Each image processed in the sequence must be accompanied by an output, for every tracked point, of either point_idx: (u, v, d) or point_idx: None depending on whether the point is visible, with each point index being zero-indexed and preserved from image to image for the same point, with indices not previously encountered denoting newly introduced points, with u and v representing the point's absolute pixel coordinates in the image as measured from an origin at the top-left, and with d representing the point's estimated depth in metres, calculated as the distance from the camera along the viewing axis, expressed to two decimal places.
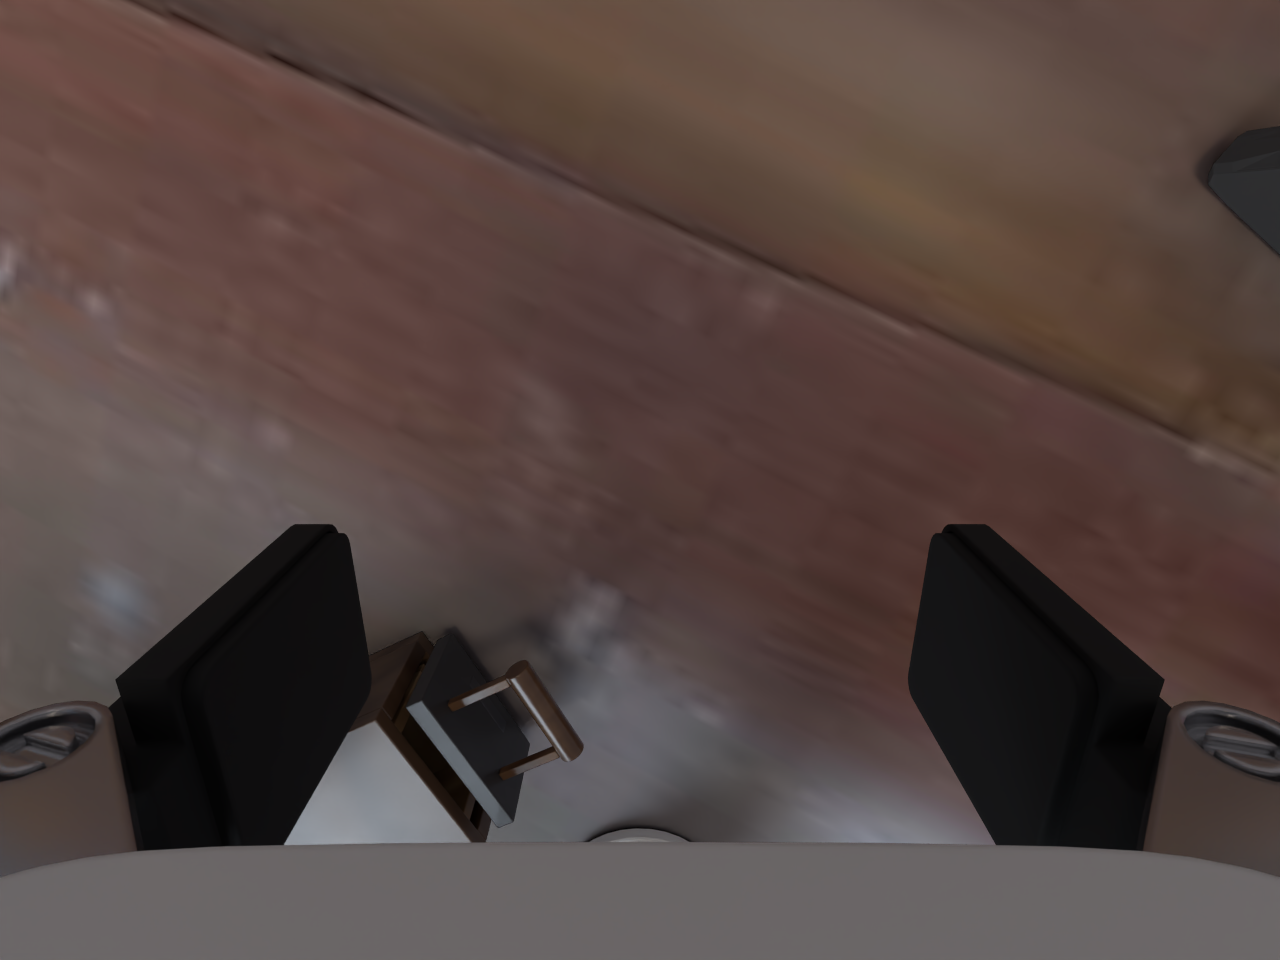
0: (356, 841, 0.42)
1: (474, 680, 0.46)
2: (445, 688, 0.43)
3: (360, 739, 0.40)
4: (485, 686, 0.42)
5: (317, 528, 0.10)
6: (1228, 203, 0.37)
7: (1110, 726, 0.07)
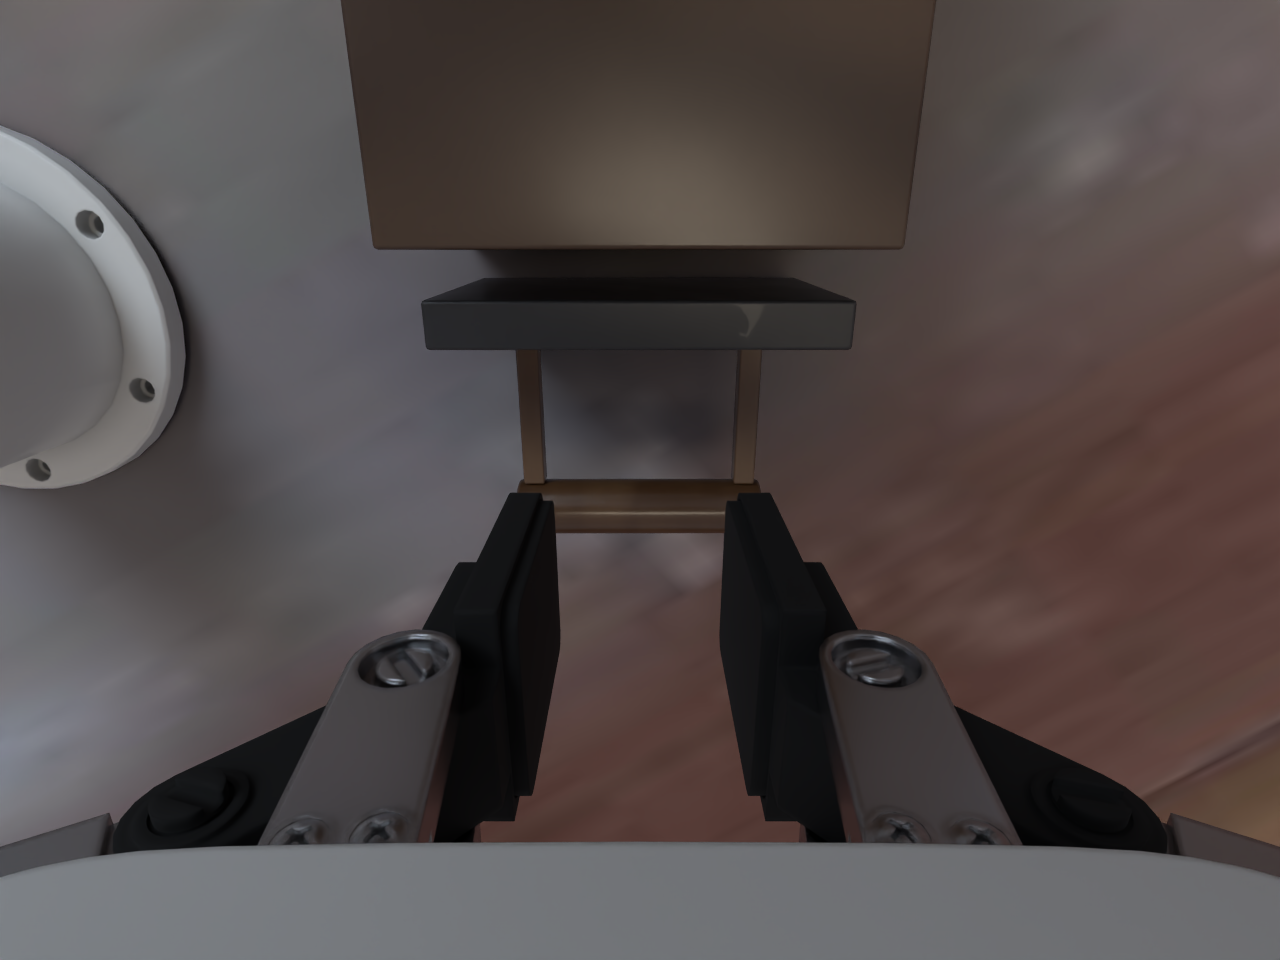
0: None
1: None
2: None
3: (878, 171, 0.14)
4: (755, 432, 0.20)
5: (534, 495, 0.11)
6: None
7: (790, 652, 0.08)
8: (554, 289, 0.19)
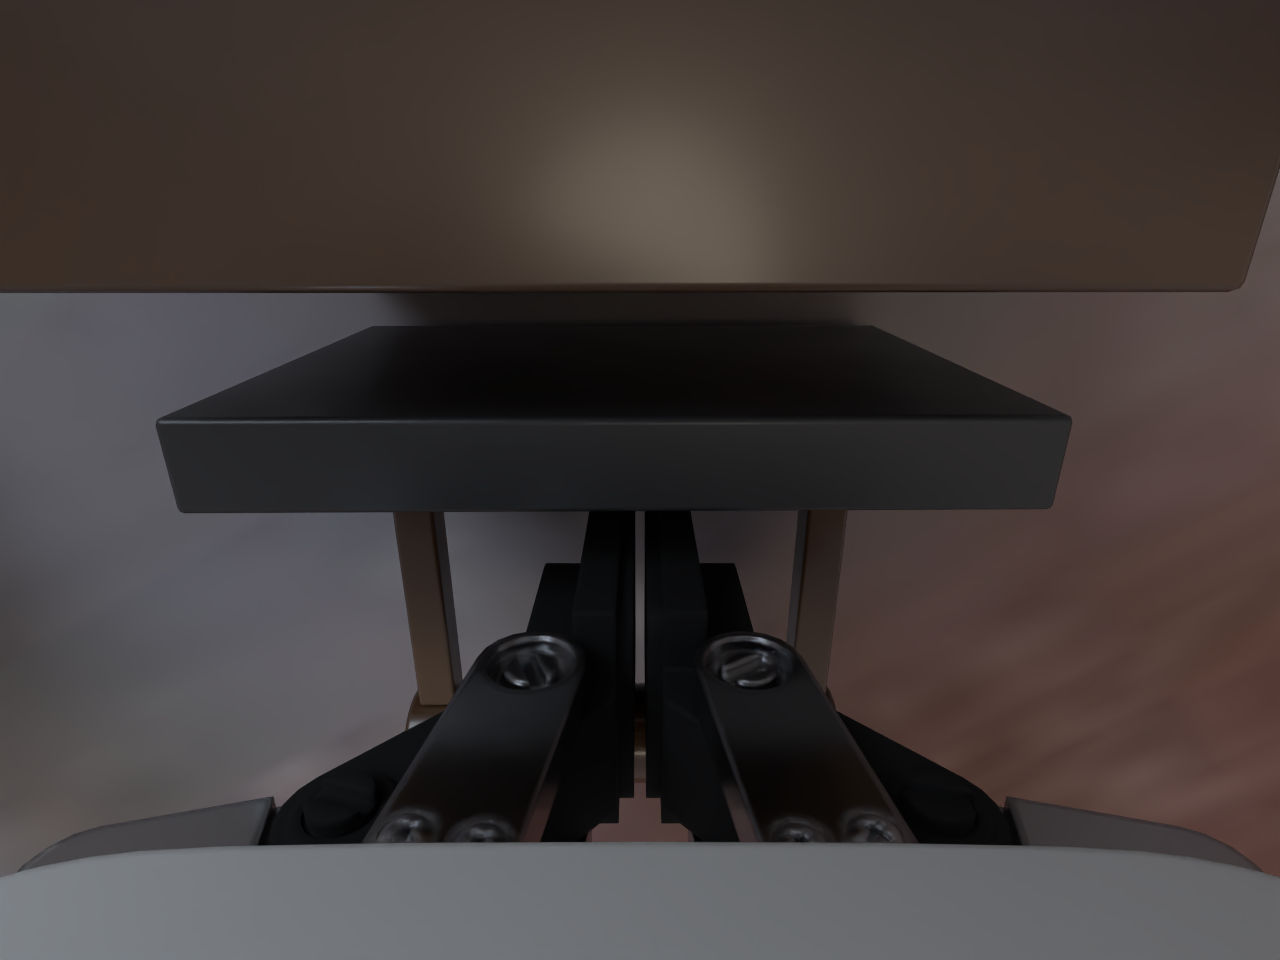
0: None
1: None
2: None
3: (1214, 101, 0.06)
4: (830, 617, 0.11)
5: None
6: None
7: (674, 654, 0.08)
8: (465, 366, 0.10)
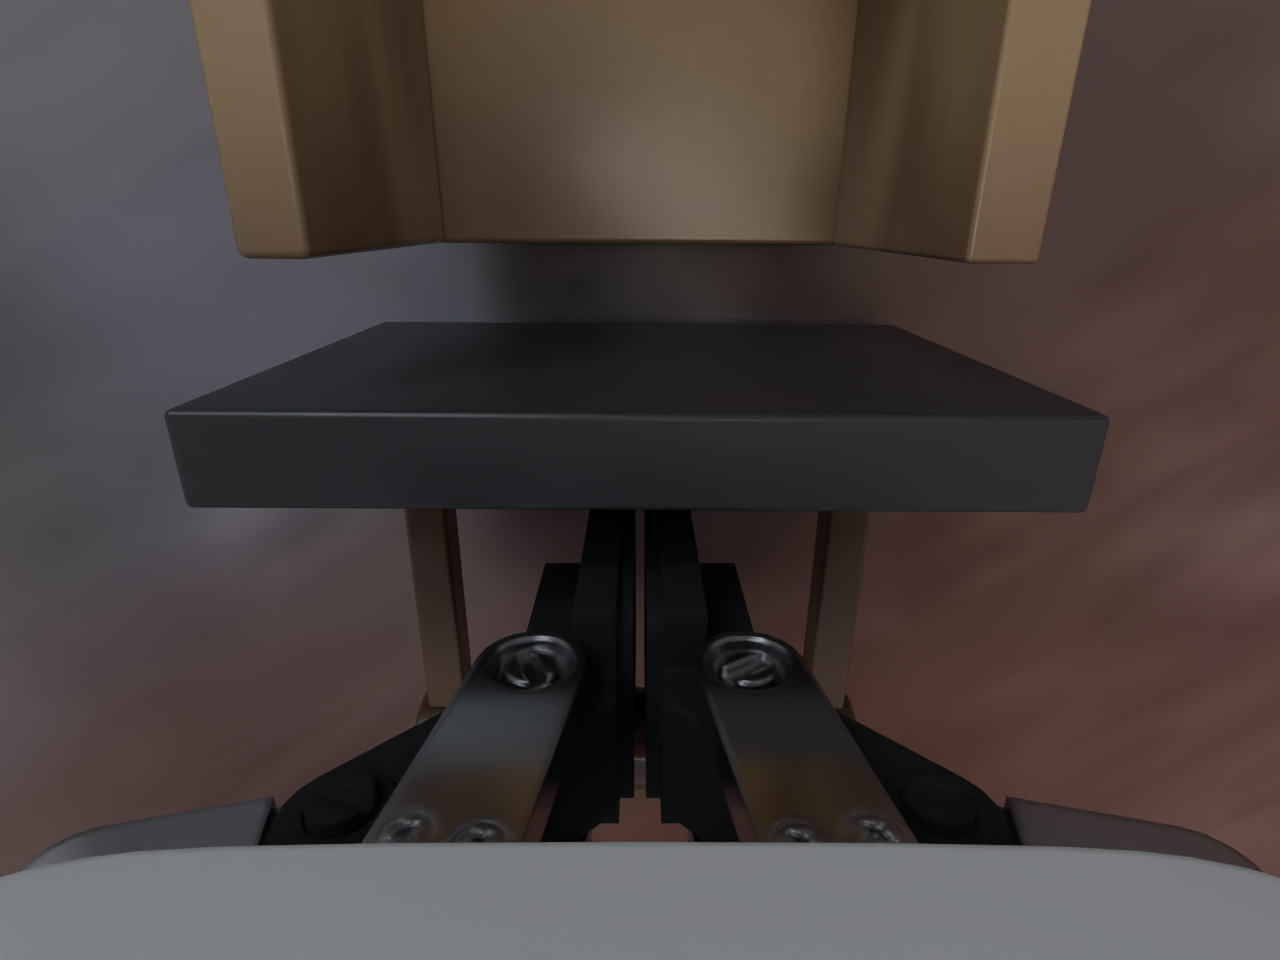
0: None
1: None
2: None
3: None
4: (850, 622, 0.11)
5: None
6: None
7: (674, 654, 0.08)
8: (479, 361, 0.10)
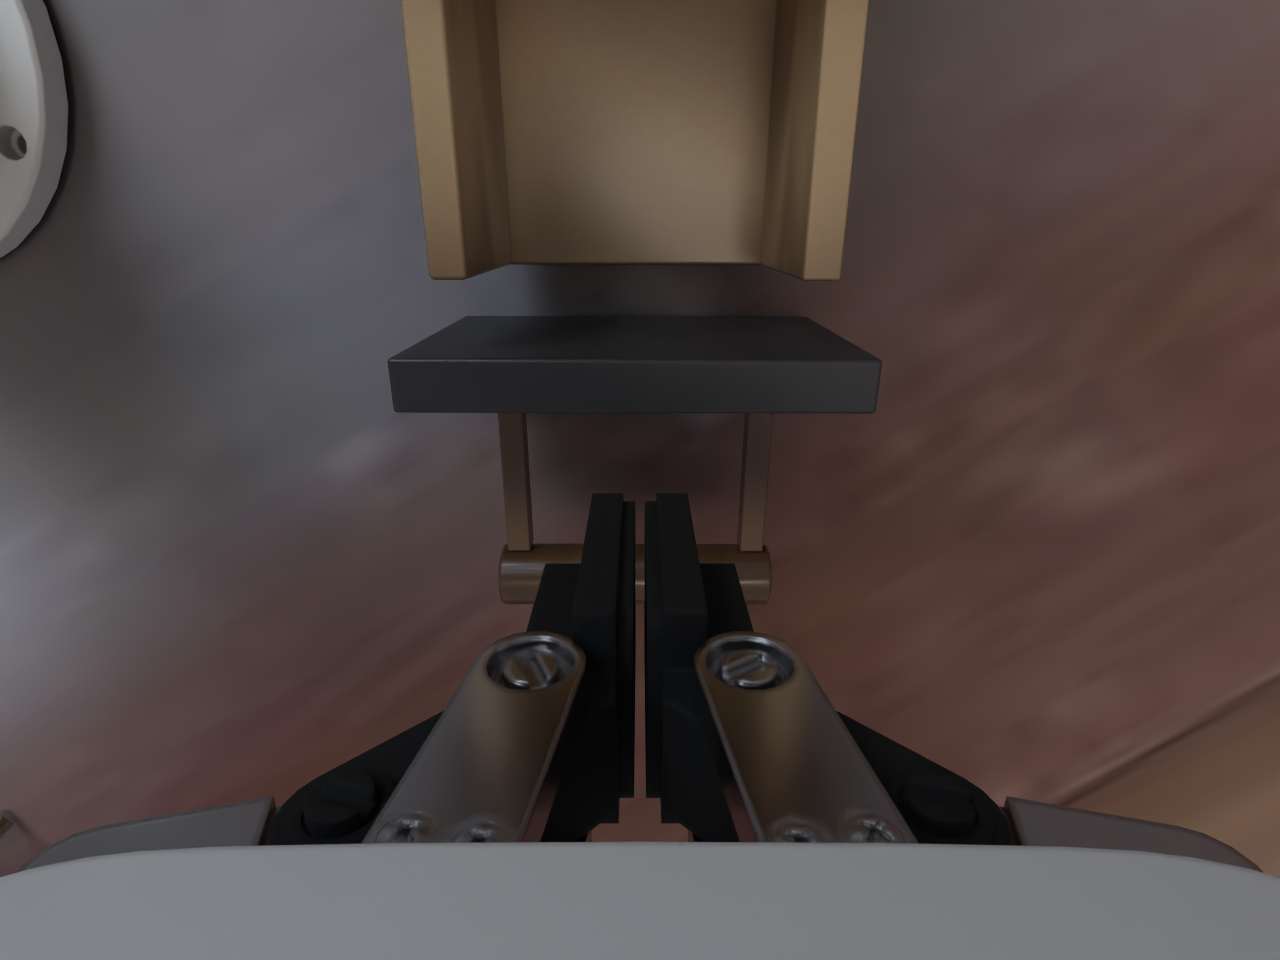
0: None
1: None
2: None
3: None
4: (765, 495, 0.18)
5: (618, 496, 0.11)
6: None
7: (674, 654, 0.08)
8: (541, 337, 0.17)
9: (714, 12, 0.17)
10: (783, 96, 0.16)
